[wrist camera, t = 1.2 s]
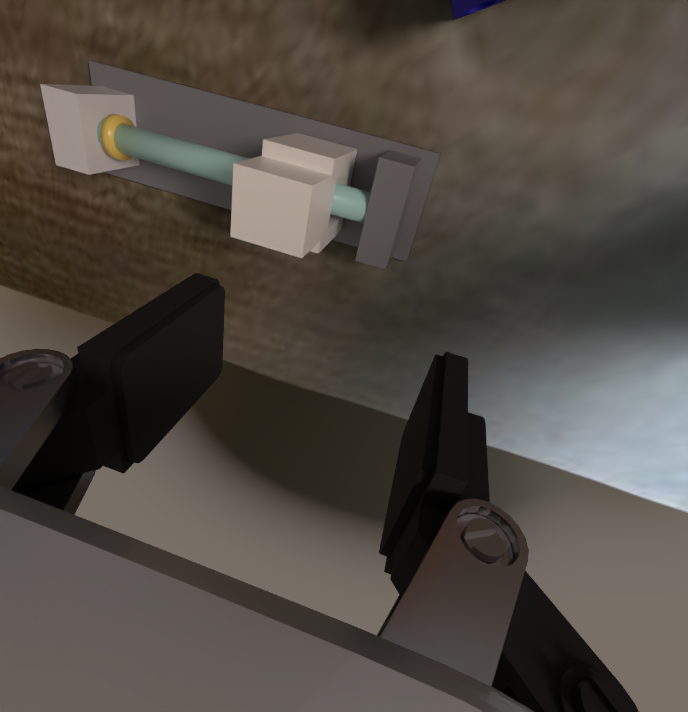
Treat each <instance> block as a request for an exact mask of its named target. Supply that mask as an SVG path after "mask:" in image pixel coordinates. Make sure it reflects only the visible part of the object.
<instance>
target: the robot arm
mask: <svg viewBox="0 0 688 712" xmlns="http://www.w3.org/2000/svg"><path fill="white" fill-rule="evenodd" d="M224 302H225V290H224V288H223V287H222V286H220V283H219V281H218V280H217V279H214V278H211V277H208V276H205V275H202V274H198V273H196V274H193V275H192V276H190V277H188V278H187V279H185V280H184V281H182V282H180V283H179V284H177V285H176V286H174V287H173V288H171V289H169V290H168V291H166V292H165V293H163V294H161V295H160V296H158V297H157V298H155V299H153V300H152V301H150V302H149V303H147V304H145V305H144V306H142V307H141V308H139V309H137V310H136V311H134V312H133V313H131V314H130V315H128V316H126V317H125V318H123V319H122V320H120V321H118V322H117V323H115V324H114V325H112V326H111V327H109V328H107V329H106V330H104V331H103V332H101V333H100V334H98V335H96V336H95V337H93V338H91V339H90V340H88V341H87V342H85V343H83V344H82V345H80V346H79V347H77V348H78V354H77V355H75V356H74V357H72V358H71V359H70V358H69V357H68V356H67V355H65V354H63V353H61V352H58V351H54V350H49V349H32V350H25V351H20V352H16V353H13V354H9V355H7V356H5V357H3V358H0V712H639V711H638V709H637V707H636V705H635V703H634V702H633V700H632V699H631V698H630V696H629V695H628V693H627V692H626V691H625V689H624V688H623V686H622V685H621V684H620V683H619V682H618V680H617V679H616V678H615V677H614V676H613V675H612V673H611V672H610V671H609V670H608V669H607V667H606V666H605V665H604V664H603V662H602V661H601V660H600V659H599V658H598V657H597V655H596V654H595V653H594V652H593V651H592V649H591V648H590V647H589V646H588V645H587V643H586V642H585V641H584V640H583V639H582V637H581V636H580V635H579V634H578V633H577V632H576V630H575V629H574V628H573V627H572V626H571V624H570V623H569V622H568V621H567V620H566V618H565V617H564V616H563V615H562V614H561V612H560V611H559V610H558V609H557V608H556V607H555V605H554V604H553V603H552V602H551V601H550V599H549V598H548V597H547V596H546V595H545V594H544V592H543V591H542V590H541V589H540V588H539V586H538V585H537V584H536V583H535V582H534V580H533V579H532V578H531V577H530V576H529V574H528V573H527V572H526V571H525V569H526V566H527V562H528V552H529V550H528V546H527V542H526V538H525V536H524V535H523V533H522V531H521V529H520V527H519V526H518V525H517V524H516V522H515V521H514V520H513V519H512V518H511V517H510V516H509V515H508V514H507V513H506V512H504V511H503V510H502V509H500V508H499V507H497V506H495V505H493V504H491V503H489V484H488V465H487V448H486V447H487V446H486V426H485V419H484V418H483V417H481V416H478V415H475V414H472V413H468V359H467V358H465V357H461V356H458V355H455V354H452V353H449V352H445V354H444V355H443V356H439V355H435V357H434V359H433V362H432V364H431V366H430V369H429V371H428V374H427V376H426V378H425V381H424V383H423V386H422V388H421V391H420V393H419V395H418V398H417V400H416V403H415V405H414V408H413V410H412V412H411V415H410V417H409V420H408V422H407V425H406V427H405V430H404V432H403V436H402V439H401V444H400V449H399V454H398V460H397V464H396V469H395V474H394V480H393V484H392V489H391V494H390V499H389V504H388V509H387V514H386V519H385V525H384V529H383V535H382V540H381V544H380V550H379V553H380V554H382V555H384V556H387V559H386V565H385V571H384V572H386V573H389V574H391V581H392V582H393V584H394V586H395V588H396V589H397V591H398V593H399V596H398V598H397V600H396V602H395V603H394V605H393V607H392V609H391V611H390V613H389V614H388V616H387V618H386V620H385V621H384V623H383V625H382V627H381V629H380V630H379V632H378V634H377V636H376V635H374V634H371V633H369V632H366V631H364V630H362V629H359V628H357V627H355V626H352V625H350V624H348V623H345V622H342V621H340V620H337V619H335V618H332V617H330V616H327V615H325V614H322V613H320V612H318V611H315V610H313V609H310V608H307V607H305V606H302V605H300V604H298V603H295V602H293V601H290V600H288V599H285V598H283V597H280V596H277V595H275V594H273V593H270V592H268V591H265V590H263V589H260V588H258V587H255V586H253V585H250V584H248V583H245V582H243V581H240V580H238V579H235V578H232V577H230V576H228V575H225V574H222V573H220V572H218V571H215V570H212V569H210V568H207V567H205V566H202V565H200V564H197V563H195V562H192V561H189V560H187V559H185V558H182V557H180V556H177V555H175V554H172V553H170V552H167V551H164V550H162V549H159V548H157V547H154V546H152V545H149V544H147V543H144V542H142V541H139V540H137V539H134V538H132V537H129V536H126V535H124V534H121V533H119V532H116V531H113V530H111V529H109V528H106V527H103V526H101V525H98V524H96V523H93V522H91V521H88V520H86V519H83V518H81V517H78V516H76V515H75V513H76V511H77V509H78V507H79V505H80V503H81V501H82V499H83V497H84V495H85V493H86V491H87V489H88V487H89V485H90V483H91V481H92V479H93V477H94V475H95V471H96V470H98V469H100V468H101V467H102V466H105V467H108V468H110V469H113V470H116V471H118V472H121V473H125V472H126V471H127V470H128V469H129V467H130V466H131V465H132V464H133V463H134V462H135V463H140V462H141V461H143V460H144V459H145V457H147V455H148V454H149V453H150V452H151V451H152V450H153V449H154V448H155V447H156V445H157V444H158V443H159V442H160V441H161V440H162V439H163V438H164V437H165V435H166V434H167V433H168V432H169V431H170V430H171V429H172V428H173V426H175V424H176V423H177V422H178V421H179V420H180V419H181V418H182V417H183V416H184V415H185V414H186V412H187V411H188V410H189V409H190V408H191V407H192V406H193V405H194V404H195V402H196V401H197V400H198V399H199V398H200V397H201V396H202V395H203V394H204V393H205V391H206V390H207V389H208V388H209V387H210V386H211V385H212V384H213V383H214V382H215V380H216V379H217V378H218V377H219V375H220V373H221V370H222V359H223V330H224Z"/></svg>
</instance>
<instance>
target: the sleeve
mask: <svg viewBox="0 0 688 712" xmlns="http://www.w3.org/2000/svg"><path fill="white" fill-rule="evenodd" d="M356 154H357V149H355V148H351V147H348V146H344V145H340V144H336V143H333V142H329V141H325V140H322V139H318V138H314V137H311V136H307V135H303V134H299V133H295V134H289V135H284V136H278V137H273V138H268V139H263V148H262V156H259V157H255V158H251V159H247V160H244V161H240V162H236V163H233V186H232V211H231V236H230V237H233V238H236V239H240V240H243V241H246V242H250V243H253V244H256V245H259V246H263V247H266V248H269V249H273V250H276V251H279V252H283V253H286V254H289V255H292V256H296V257H299V258H303V257H304V256H305V255H306V254H307V253H308V252H309V251H311V252H314V253H318V254H319V252H320V251H321V250H322V249H323V248H324V247H325V246H326V245H327V244H328V243H329V242H330V241H331V240H332V239H333V238H334V237H335V236H336V235H337V234H338V233H339V232H340V231H341V229H342V224H343V219H344V218H343V217H339V216H336V215H332V214H330V213H331V208H332V202H333V197H334V191H335V186H336V183H339V184H342V185H346V186H349V187H350V184H351V179H352V174H353V169H354V164H355V159H356Z"/></svg>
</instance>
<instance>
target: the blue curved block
mask: <svg viewBox="0 0 688 712" xmlns="http://www.w3.org/2000/svg"><path fill="white" fill-rule="evenodd" d="M503 1H505V0H451V2H452V8H453V14H454V20H455V19H458V18H461V17H463V16H466V15H469V14H471V13H474V12H476V11H479V10H482V9H484V8H487V7H489V6H492V5H495V4H497V3H500V2H503Z"/></svg>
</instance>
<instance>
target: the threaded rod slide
mask: <svg viewBox="0 0 688 712" xmlns="http://www.w3.org/2000/svg"><path fill="white" fill-rule="evenodd" d="M89 68H90V75H91V83H92V86H78V85H54V84H40V85H41V90H42V95H43V100H44V106H45V111H46V116H47V121H48V126H49V131H50V136H51V141H52V146H53V152H54V157H55V162H56V165H58V166H61V167H65V168H68V169H71V170H75V171H78V172H81V173H85V174H88V175H91V174H96V173H101V172H104V173H107V174H111V175H114V176H118V177H121V178H124V179H128V180H131V181H134V182H138V183H141V184H145V185H148V186H151V187H155V188H158V189H162V190H165V191H168V192H172V193H175V194H178V195H182V196H185V197H189V198H192V199H195V200H199V201H202V202H205V203H209V204H212V205H216V206H219V207H222V208H226V209H229V210H232V186H233V163H236V162H240V161H244V160H247V159H251V158H255V157H259V156H262V148H263V139H268V138H273V137H278V136H284V135H289V134H295V133H299V134H303V135H307V136H311V137H314V138H318V139H322V140H325V141H329V142H333V143H336V144H340V145H344V146H348V147H351V148H355V149H357V154H356V159H355V164H354V169H353V174H352V179H351V184H350V187H349V186H346V185H342V184H339V183H336V186H335V191H334V197H333V202H332V208H331V213H330V214H332V215H336V216H339V217H343V218H344V219H343V224H342V229H341V231H340V232H339V233H338V234H337V235H336V236H335V237H334V238H333V239H332V240H334V241H337V242H341V243H344V244H347V245H351V246H354V247H358V251H357V255H356V260H355V261H357V262H361V263H364V264H367V265H371V266H374V267H377V268H381V269H384V270H386V269H387V267H388V265H389V263H390V260H391V258H395V259H398V260H401V261H405V262H407V260H408V257H409V254H410V250H411V247H412V244H413V241H414V238H415V234H416V231H417V228H418V225H419V221H420V218H421V215H422V212H423V209H424V205H425V202H426V199H427V196H428V192H429V189H430V186H431V183H432V180H433V176H434V173H435V170H436V167H437V163H438V160H439V157H440V154H441V153H438V152H434V151H431V150H427V149H423V148H419V147H416V146H412V145H408V144H404V143H401V142H397V141H393V140H389V139H385V138H382V137H378V136H374V135H370V134H367V133H363V132H359V131H355V130H352V129H348V128H344V127H340V126H337V125H333V124H329V123H325V122H321V121H318V120H314V119H310V118H306V117H303V116H299V115H295V114H291V113H288V112H284V111H280V110H276V109H272V108H269V107H265V106H261V105H257V104H254V103H250V102H246V101H242V100H239V99H235V98H231V97H227V96H224V95H220V94H216V93H212V92H208V91H205V90H201V89H197V88H193V87H190V86H186V85H182V84H178V83H175V82H171V81H167V80H163V79H160V78H156V77H152V76H148V75H144V74H141V73H137V72H133V71H129V70H126V69H122V68H118V67H114V66H111V65H107V64H103V63H99V62H96V61H90V60H89Z"/></svg>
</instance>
